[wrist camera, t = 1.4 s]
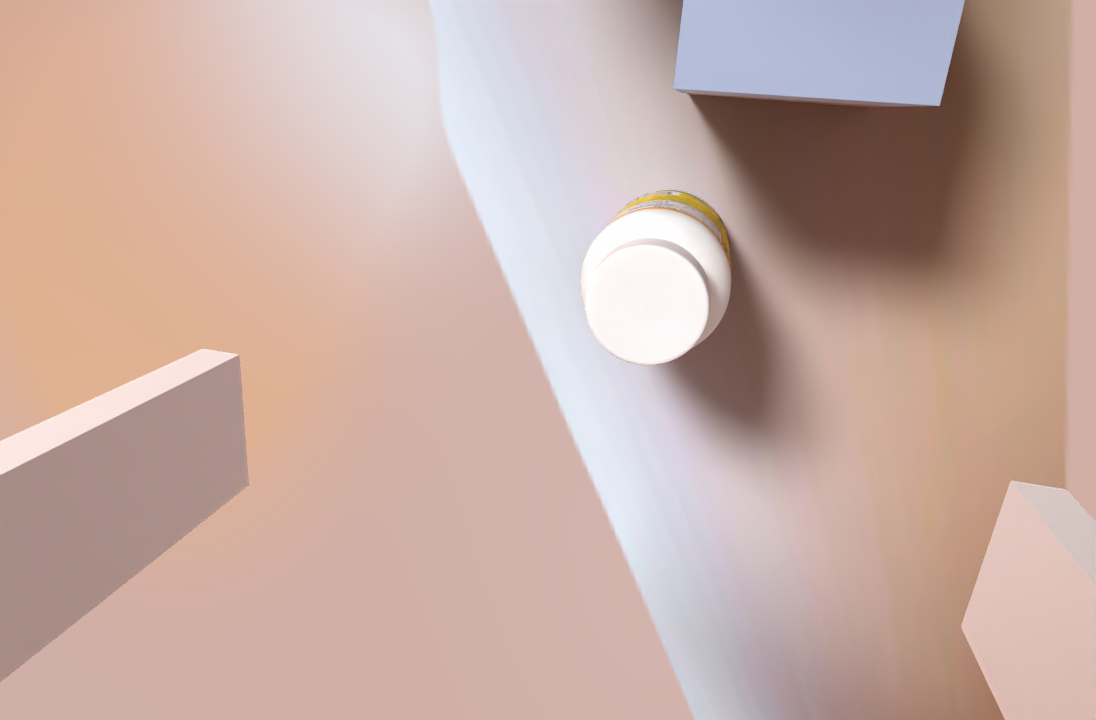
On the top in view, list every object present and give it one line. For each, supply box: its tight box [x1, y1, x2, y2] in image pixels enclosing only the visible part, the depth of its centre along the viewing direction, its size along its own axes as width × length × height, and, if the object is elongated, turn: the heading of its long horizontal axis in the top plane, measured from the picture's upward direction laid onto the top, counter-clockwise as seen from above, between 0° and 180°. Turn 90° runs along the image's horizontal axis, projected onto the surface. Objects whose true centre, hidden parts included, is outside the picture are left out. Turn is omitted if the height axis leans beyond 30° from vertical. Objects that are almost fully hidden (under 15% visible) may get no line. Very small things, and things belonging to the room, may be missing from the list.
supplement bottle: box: [580, 189, 731, 365], centre depth 27 cm, size 5×5×10 cm
